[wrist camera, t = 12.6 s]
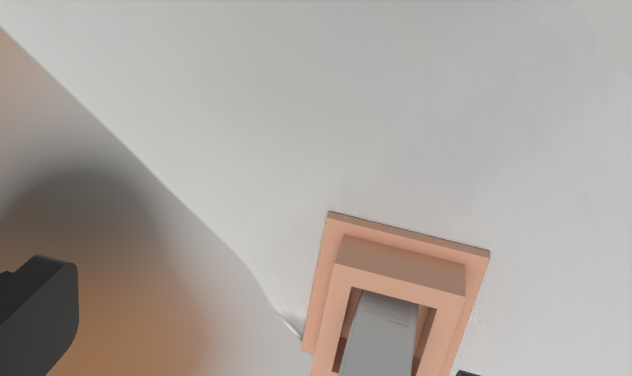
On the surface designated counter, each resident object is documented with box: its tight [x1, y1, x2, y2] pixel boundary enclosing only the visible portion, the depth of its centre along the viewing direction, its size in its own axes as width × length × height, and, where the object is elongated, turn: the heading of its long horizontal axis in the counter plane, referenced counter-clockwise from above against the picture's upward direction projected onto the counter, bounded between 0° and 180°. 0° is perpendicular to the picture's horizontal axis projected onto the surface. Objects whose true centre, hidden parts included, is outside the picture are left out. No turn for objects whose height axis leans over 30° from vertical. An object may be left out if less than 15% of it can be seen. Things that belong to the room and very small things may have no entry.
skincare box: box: [338, 289, 419, 376], centre depth 41 cm, size 6×4×12 cm
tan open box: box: [301, 211, 490, 376], centre depth 45 cm, size 12×13×5 cm
